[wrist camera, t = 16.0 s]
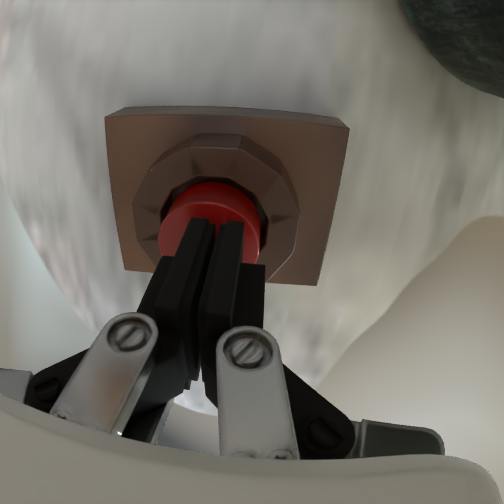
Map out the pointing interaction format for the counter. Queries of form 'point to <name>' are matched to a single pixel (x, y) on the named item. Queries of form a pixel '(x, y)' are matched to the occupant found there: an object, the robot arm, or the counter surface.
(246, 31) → the counter surface
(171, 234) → the button
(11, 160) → the counter surface
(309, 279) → the control block
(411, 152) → the counter surface
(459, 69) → the mug
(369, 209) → the counter surface
